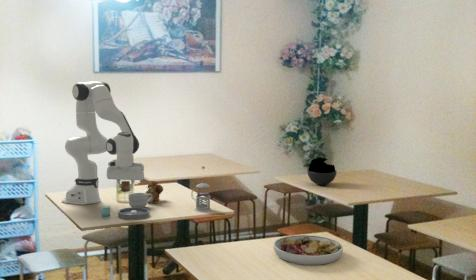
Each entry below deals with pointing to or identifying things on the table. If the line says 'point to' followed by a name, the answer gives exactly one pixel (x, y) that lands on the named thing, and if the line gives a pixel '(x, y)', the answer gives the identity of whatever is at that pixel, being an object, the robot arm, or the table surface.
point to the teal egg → (105, 211)
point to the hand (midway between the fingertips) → (125, 187)
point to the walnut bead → (125, 186)
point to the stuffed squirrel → (154, 191)
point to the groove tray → (133, 213)
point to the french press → (202, 198)
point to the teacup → (139, 199)
